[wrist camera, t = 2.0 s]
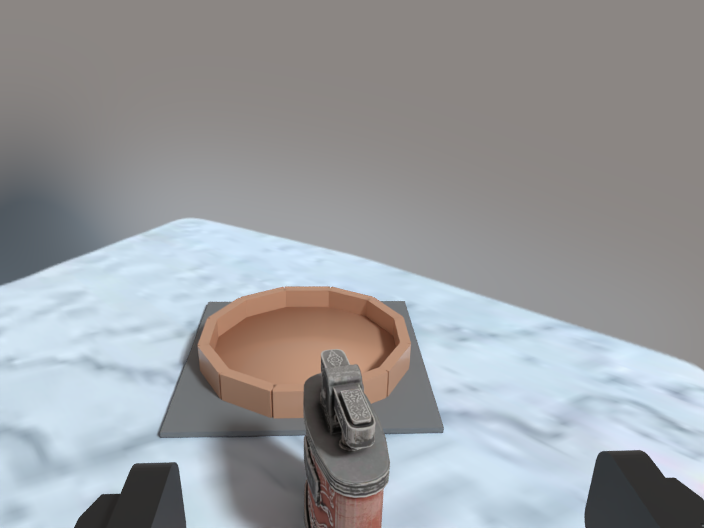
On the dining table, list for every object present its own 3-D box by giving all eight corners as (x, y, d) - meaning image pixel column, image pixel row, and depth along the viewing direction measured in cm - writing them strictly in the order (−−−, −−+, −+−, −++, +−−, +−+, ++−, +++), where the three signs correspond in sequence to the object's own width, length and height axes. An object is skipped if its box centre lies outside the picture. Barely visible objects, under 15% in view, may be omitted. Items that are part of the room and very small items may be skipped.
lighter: (294, 486, 33) (292, 333, 29) (352, 476, 34) (357, 326, 30) (323, 618, 26) (325, 438, 22) (395, 601, 27) (410, 426, 23)
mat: (160, 437, 36) (159, 432, 36) (208, 305, 53) (208, 301, 53) (443, 432, 38) (443, 427, 37) (404, 305, 54) (404, 301, 54)
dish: (183, 419, 38) (180, 392, 37) (219, 307, 52) (218, 286, 51) (422, 415, 38) (424, 389, 38) (393, 307, 53) (394, 286, 52)
